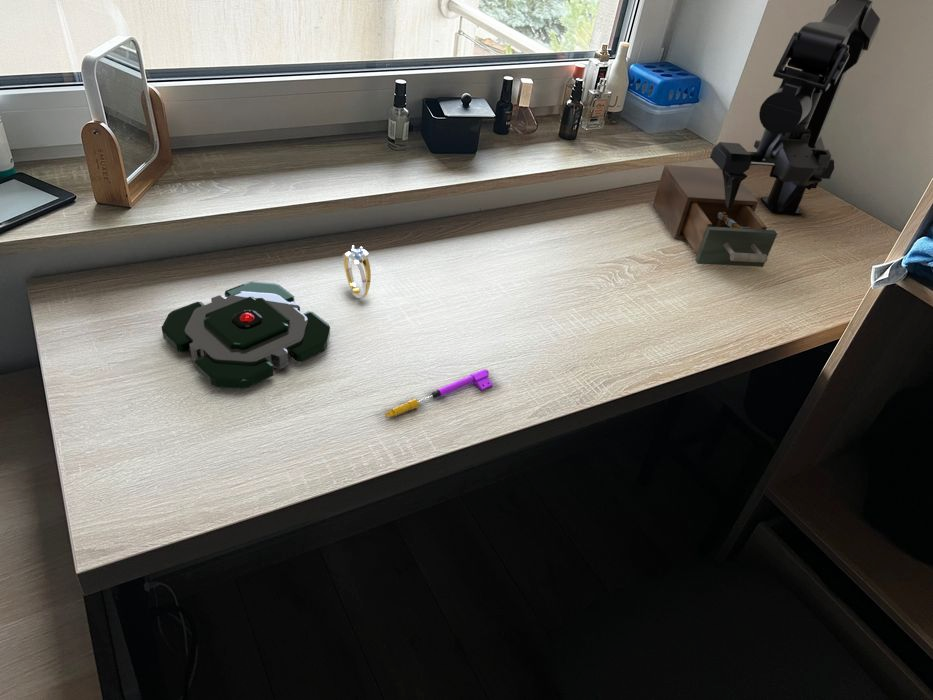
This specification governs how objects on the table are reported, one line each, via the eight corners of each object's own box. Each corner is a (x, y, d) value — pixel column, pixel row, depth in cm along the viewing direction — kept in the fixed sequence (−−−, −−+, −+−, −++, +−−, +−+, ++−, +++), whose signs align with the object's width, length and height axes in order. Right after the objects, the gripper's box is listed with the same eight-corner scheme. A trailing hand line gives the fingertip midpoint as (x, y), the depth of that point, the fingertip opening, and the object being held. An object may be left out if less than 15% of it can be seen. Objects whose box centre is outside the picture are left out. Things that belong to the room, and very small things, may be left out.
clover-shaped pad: (267, 289, 107) (265, 262, 105) (343, 349, 98) (344, 322, 96) (152, 333, 96) (146, 306, 94) (226, 405, 88) (222, 377, 85)
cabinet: (742, 242, 136) (758, 201, 131) (674, 239, 134) (688, 197, 129) (716, 208, 147) (730, 169, 142) (652, 204, 145) (664, 164, 140)
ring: (374, 306, 107) (376, 260, 102) (353, 309, 106) (354, 263, 101) (358, 281, 112) (359, 235, 107) (338, 284, 110) (338, 238, 106)
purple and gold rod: (484, 371, 98) (383, 414, 89) (486, 366, 97) (384, 409, 88) (495, 386, 96) (394, 431, 88) (497, 381, 96) (396, 425, 87)
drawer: (775, 282, 124) (790, 248, 120) (707, 279, 122) (720, 244, 118) (736, 231, 138) (748, 199, 133) (674, 228, 136) (685, 195, 132)
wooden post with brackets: (716, 232, 133) (724, 209, 131) (742, 250, 127) (751, 226, 125) (707, 232, 133) (715, 209, 130) (733, 250, 126) (742, 226, 124)
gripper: (757, 133, 102) (720, 230, 112) (874, 141, 106) (829, 235, 115) (725, 105, 111) (694, 197, 121) (834, 113, 114) (795, 203, 124)
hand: (753, 208), depth 120 cm, fingers open, 9 cm apart
